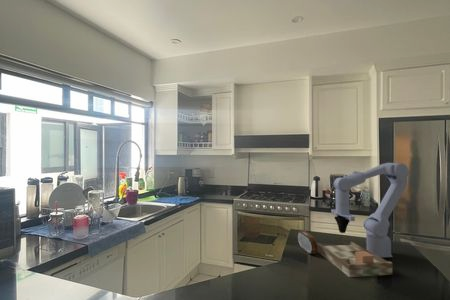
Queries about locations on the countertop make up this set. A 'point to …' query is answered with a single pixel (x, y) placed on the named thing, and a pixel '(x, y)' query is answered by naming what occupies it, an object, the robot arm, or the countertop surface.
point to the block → (363, 257)
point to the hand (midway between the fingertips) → (342, 232)
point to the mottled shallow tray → (346, 260)
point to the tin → (307, 242)
